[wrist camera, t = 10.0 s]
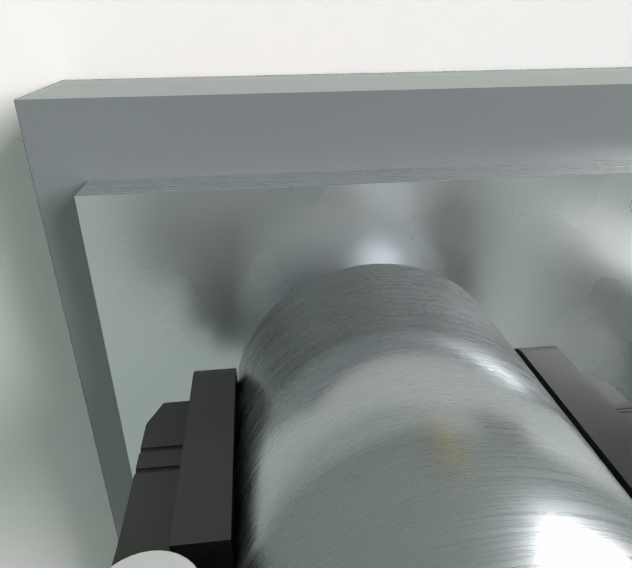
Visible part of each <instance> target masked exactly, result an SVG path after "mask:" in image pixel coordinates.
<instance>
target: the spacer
mask: <svg viewBox="0 0 632 568" xmlns="http://www.w3.org/2000/svg"><path fill="white" fill-rule="evenodd" d="M237 377H238V411H237V463H236V516H235V568H632V499H631V497H630V496H629V495H628V494H627V492H626V491H625V490H624V488H623V487H622V486H621V485H620V483H619V482H618V481H617V480H616V478H615V477H614V476H613V474H612V473H611V472H610V471H609V469H608V468H607V467H606V466H605V464H604V463H603V462H602V460H601V459H600V458H599V457H598V455H597V454H596V453H595V452H594V450H593V449H592V448H591V446H590V445H589V444H588V443H587V441H586V440H585V439H584V438H583V436H582V435H581V434H580V432H579V431H578V430H577V429H576V427H575V426H574V425H573V424H572V422H571V421H570V420H569V418H568V417H567V416H566V415H565V413H564V412H563V411H562V410H561V408H560V407H559V406H558V404H557V403H556V402H555V401H554V399H553V398H552V397H551V396H550V394H549V393H548V392H547V390H546V389H545V388H544V387H543V385H542V384H541V383H540V382H539V380H538V379H537V378H536V376H535V375H534V374H533V373H532V371H531V370H530V369H529V368H528V366H527V365H526V364H525V362H524V361H523V360H522V359H521V357H520V356H519V355H518V353H517V352H516V351H515V350H514V348H513V347H512V346H511V345H510V343H509V342H508V341H507V339H506V338H505V337H504V336H503V334H502V333H501V332H500V331H499V329H498V328H497V327H496V325H495V324H494V323H493V322H492V320H491V319H490V318H489V317H488V315H487V314H486V313H485V311H484V310H483V309H482V308H481V306H480V305H479V304H478V303H477V302H476V301H475V300H474V299H473V297H472V296H471V295H470V294H468V293H467V292H466V291H465V290H464V289H462V288H461V287H460V286H459V285H457V284H455V283H454V282H452V281H450V280H449V279H447V278H445V277H443V276H441V275H438V274H436V273H433V272H431V271H428V270H425V269H421V268H417V267H413V266H407V265H399V264H368V265H359V266H353V267H349V268H345V269H341V270H337V271H334V272H331V273H329V274H326V275H323V276H320V277H318V278H316V279H314V280H312V281H310V282H308V283H306V284H304V285H302V286H301V287H299V288H298V289H296V290H295V291H293V292H292V293H290V294H289V295H287V296H286V297H285V298H284V299H282V300H281V301H280V302H279V303H278V304H277V305H275V306H274V307H273V308H272V309H271V310H270V311H269V312H268V314H267V315H266V316H265V317H264V318H263V319H262V320H261V321H260V323H259V324H258V326H257V327H256V329H255V330H254V332H253V333H252V335H251V336H250V339H249V341H248V343H247V345H246V347H245V349H244V351H243V354H242V358H241V361H240V364H239V369H238V376H237Z"/></svg>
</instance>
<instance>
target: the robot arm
mask: <svg viewBox="0 0 632 568" xmlns="http://www.w3.org/2000/svg"><path fill="white" fill-rule="evenodd" d="M514 350H515V351H516V352H517V353H518V355H519V356H520V357H521V359H522V360H523V361H524V362H525V364H526V365H527V366H528V368H529V369H530V370H531V371H532V373H533V374H534V375H535V376H536V378H537V379H538V380H539V382H540V383H541V384H542V385H543V387H544V388H545V389H546V390H547V392H548V393H549V394H550V396H551V397H552V398H553V399H554V401H555V402H556V403H557V404H558V406H559V407H560V408H561V410H562V411H563V412H564V413H565V415H566V416H567V417H568V418H569V420H570V421H571V422H572V424H573V425H574V426H575V427H576V429H577V430H578V431H579V432H580V434H581V435H582V436H583V438H584V439H585V440H586V441H587V443H588V444H589V445H590V446H591V448H592V449H593V450H594V452H595V453H596V454H597V455H598V457H599V458H600V459H601V460H602V462H603V463H604V464H605V466H606V467H607V468H608V469H609V471H610V472H611V473H612V474H613V476H614V477H615V478H616V480H617V481H618V482H619V483H620V485H621V486H622V487H623V488H624V490H625V491H626V492H627V494H628V495H629V496H630V497H631V499H632V405H631V403H630V402H629V401H628V400H627V399H626V398H625V397H624V396H623V395H622V394H621V393H620V392H619V391H618V390H617V389H616V388H615V387H613V386H612V385H610V384H608V383H607V382H605V381H603V380H602V379H600V378H598V377H597V376H595V375H593V374H592V373H590V372H588V371H580V370H579V369H578V368H577V367H576V366H575V365H574V364H573V363H572V362H571V361H570V359H569V358H568V357H567V356H566V355H565V354H564V353H563V352H562V351H561V350H560V349H559V348H558V347H556V346H543V347H529V348H516V349H514ZM237 411H238V377H237V370H236V368H229V369H216V370H202V371H194V373H193V379H192V386H191V393H190V400H189V401H180V402H167V403H163V404H162V405H161V407H160V408H159V409H158V410H157V412H156V413H155V414H154V415H153V416H152V418H151V419H150V420H149V421H148V423H147V424H146V427H145V431H144V435H143V440H142V444H141V448H140V449H141V453H139V457H138V461H137V465H136V474H134V478H133V482H132V486H131V490H130V494H129V499H128V503H127V507H126V511H125V516H124V520H123V524H122V528H121V532H120V537H119V541H118V545H117V549H116V553H115V557H114V560H113V563H112V566H111V567H110V568H235V516H236V463H237Z"/></svg>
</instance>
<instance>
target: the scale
mask: <svg viewBox="0 0 632 568" xmlns="http://www.w3.org/2000/svg"><path fill="white" fill-rule="evenodd" d="M14 103H15V107H16V111H17V115H18V120H19V124H20V128H21V132H22V136H23V141H24V145H25V149H26V153H27V157H28V162H29V166H30V170H31V174H32V178H33V183H34V187H35V191H36V195H37V199H38V203H39V208H40V212H41V216H42V220H43V224H44V229H45V233H46V237H47V241H48V245H49V250H50V254H51V258H52V262H53V266H54V271H55V275H56V279H57V283H58V287H59V292H60V296H61V300H62V304H63V308H64V313H65V317H66V321H67V325H68V329H69V334H70V338H71V342H72V346H73V350H74V355H75V359H76V363H77V367H78V371H79V376H80V380H81V384H82V388H83V392H84V397H85V401H86V405H87V409H88V413H89V418H90V422H91V426H92V430H93V434H94V439H95V443H96V447H97V451H98V455H99V460H100V464H101V468H102V472H103V476H104V480H105V485H106V489H107V493H108V497H109V501H110V506H111V510H112V514H113V518H114V522H115V527H116V531H117V535H118V539H119V537H120V532H121V528H122V524H123V520H124V516H125V511H126V507H127V503H128V499H129V494H130V490H131V486H132V482H133V478H134V474H136V465H137V461H138V457H139V453H141V449H140V448H141V444H142V440H143V435H144V431H145V427H146V424H147V423H148V421H149V420H150V419H151V418H152V416H153V415H154V414H155V413H156V412H157V410H158V409H159V408H160V407H161V405H162V404H163V403H167V402H180V401H189V400H190V393H191V386H192V379H193V373H194V371H202V370H216V369H229V368H236V370H237V376H238V369H239V364H240V361H241V358H242V354H243V351H244V349H245V347H246V345H247V343H248V341H249V339H250V336H251V335H252V333H253V332H254V330H255V329H256V327H257V326H258V324H259V323H260V321H261V320H262V319H263V318H264V317H265V316H266V315H267V314H268V312H269V311H270V310H271V309H272V308H273V307H274V306H275V305H277V304H278V303H279V302H280V301H281V300H282V299H284V298H285V297H286V296H287V295H289V294H290V293H292V292H293V291H295V290H296V289H298V288H299V287H301V286H302V285H304V284H306V283H308V282H310V281H312V280H314V279H316V278H318V277H320V276H323V275H326V274H329V273H331V272H334V271H337V270H341V269H345V268H349V267H353V266H359V265H368V264H399V265H407V266H413V267H417V268H421V269H425V270H428V271H431V272H433V273H436V274H438V275H441V276H443V277H445V278H447V279H449V280H450V281H452V282H454V283H455V284H457V285H459V286H460V287H461V288H462V289H464V290H465V291H466V292H467V293H468V294H470V295H471V296H472V297H473V299H474V300H475V301H476V302H477V303H478V304H479V305H480V306H481V308H482V309H483V310H484V311H485V313H486V314H487V315H488V317H489V318H490V319H491V320H492V322H493V323H494V324H495V325H496V327H497V328H498V329H499V331H500V332H501V333H502V334H503V336H504V337H505V338H506V339H507V341H508V342H509V343H510V345H511V346H512V347H513V348H514V349H516V348H529V347H543V346H556V347H558V348H559V349H560V350H561V351H562V352H563V353H564V354H565V355H566V356H567V357H568V358H569V359H570V361H571V362H572V363H573V364H574V365H575V366H576V367H577V368H578V369H579V370H580V371H588V372H590V373H592V374H593V375H595V376H597V377H598V378H600V379H602V380H603V381H605V382H607V383H608V384H610V385H612V386H613V387H615V388H616V389H617V390H618V391H619V392H620V393H621V394H622V395H623V396H624V397H625V398H626V399H627V400H628V401H629V402H630V403H631V405H632V67H619V68H575V69H531V70H487V71H443V72H399V73H355V74H311V75H267V76H223V77H179V78H135V79H91V80H62V81H59V82H57V83H54V84H52V85H49V86H47V87H44V88H42V89H39V90H37V91H34V92H32V93H29V94H27V95H24V96H22V97H19V98H17V99H15V100H14Z"/></svg>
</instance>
